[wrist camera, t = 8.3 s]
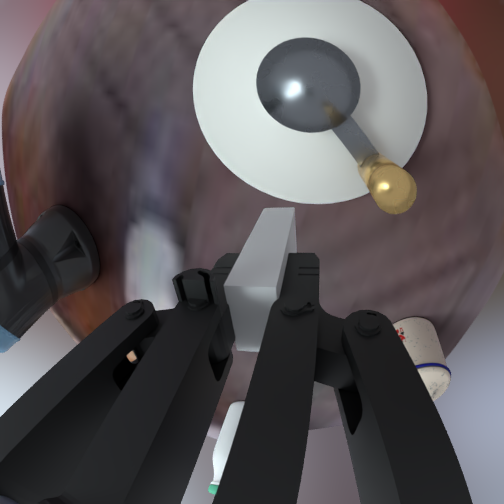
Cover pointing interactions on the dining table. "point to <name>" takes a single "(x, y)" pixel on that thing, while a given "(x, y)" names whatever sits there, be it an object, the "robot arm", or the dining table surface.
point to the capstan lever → (329, 110)
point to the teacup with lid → (425, 353)
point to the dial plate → (295, 142)
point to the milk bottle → (225, 443)
